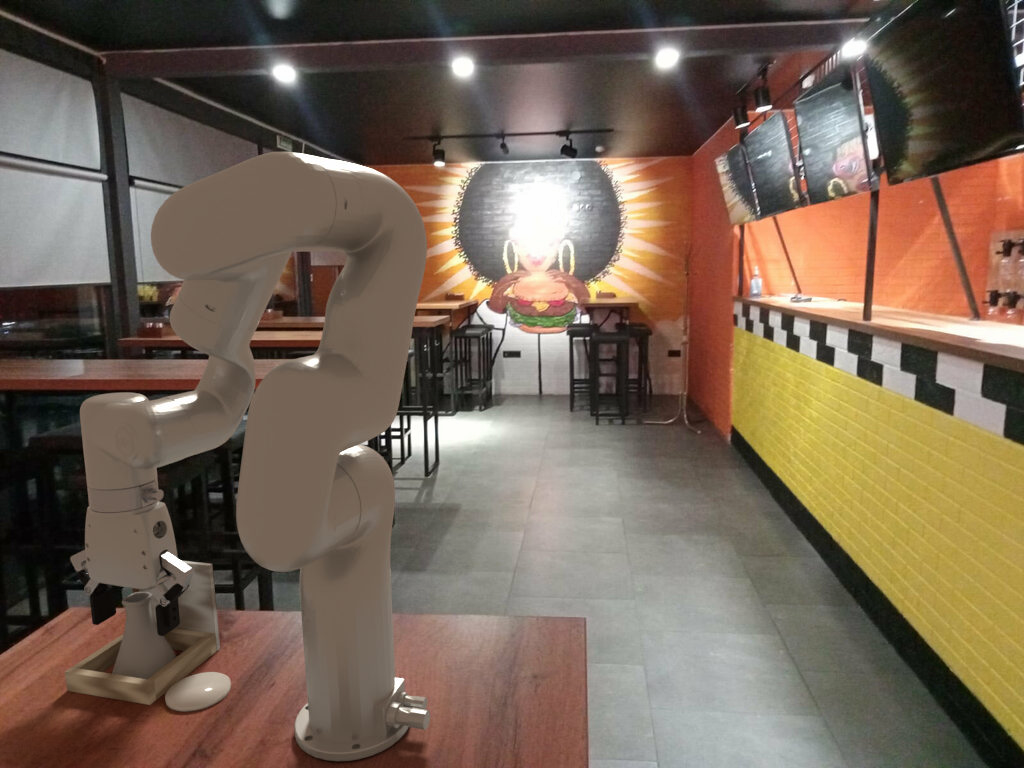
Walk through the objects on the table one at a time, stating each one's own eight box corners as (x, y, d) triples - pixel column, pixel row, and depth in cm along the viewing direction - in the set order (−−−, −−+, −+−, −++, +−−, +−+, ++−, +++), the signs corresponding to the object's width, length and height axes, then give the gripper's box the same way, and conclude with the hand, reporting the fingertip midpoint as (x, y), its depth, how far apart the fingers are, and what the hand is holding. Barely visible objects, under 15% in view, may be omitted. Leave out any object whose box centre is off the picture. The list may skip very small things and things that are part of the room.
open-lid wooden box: (220, 648, 96) (212, 563, 94) (149, 704, 84) (139, 609, 82) (145, 637, 99) (135, 555, 97) (67, 690, 87) (54, 598, 85)
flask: (150, 690, 87) (142, 613, 85) (99, 684, 88) (89, 608, 86) (188, 657, 94) (181, 586, 92) (140, 652, 95) (132, 582, 93)
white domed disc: (243, 680, 88) (243, 676, 88) (204, 715, 82) (204, 711, 81) (193, 672, 90) (193, 668, 90) (151, 706, 83) (151, 702, 83)
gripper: (205, 491, 88) (215, 620, 92) (91, 479, 93) (103, 602, 96) (162, 512, 81) (173, 650, 84) (40, 498, 86) (55, 630, 89)
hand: (136, 624), depth 90 cm, fingers open, 9 cm apart
